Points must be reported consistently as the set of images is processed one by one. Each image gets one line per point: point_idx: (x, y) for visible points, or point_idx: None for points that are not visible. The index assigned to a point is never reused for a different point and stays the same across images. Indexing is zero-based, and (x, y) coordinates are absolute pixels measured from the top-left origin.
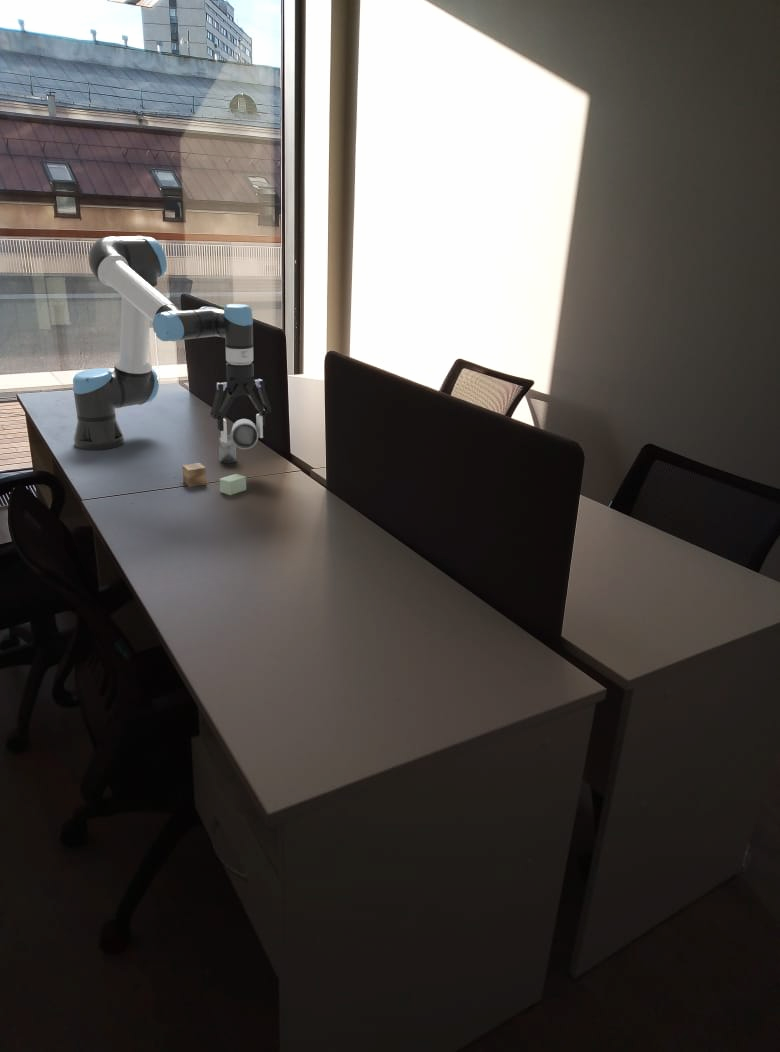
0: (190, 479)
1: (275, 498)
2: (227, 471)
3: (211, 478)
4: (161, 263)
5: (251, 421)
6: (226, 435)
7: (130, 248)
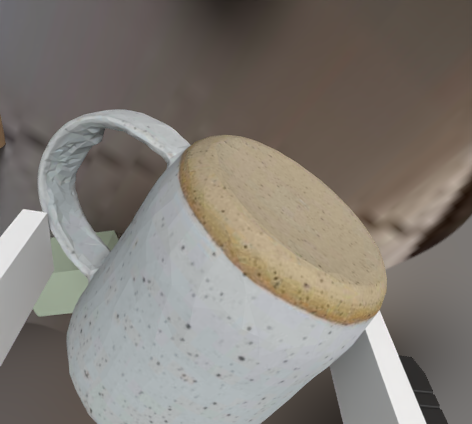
0: None
1: None
2: (170, 44)
3: (49, 90)
4: None
5: (335, 358)
6: (24, 314)
7: None
